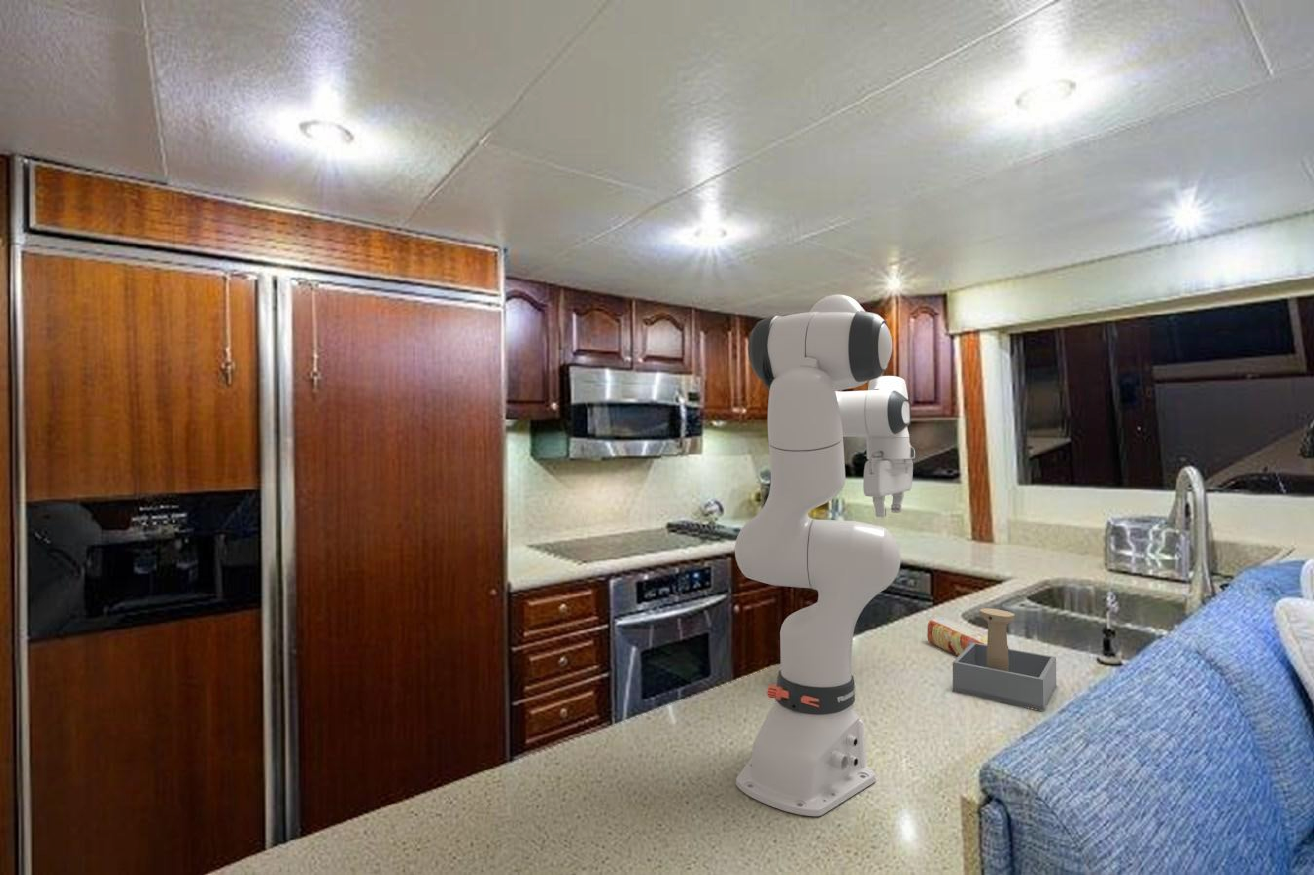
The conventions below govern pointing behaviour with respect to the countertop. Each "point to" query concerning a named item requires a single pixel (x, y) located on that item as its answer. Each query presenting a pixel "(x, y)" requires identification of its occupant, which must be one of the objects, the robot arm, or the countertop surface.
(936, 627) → the snack package
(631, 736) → the countertop surface
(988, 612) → the handle
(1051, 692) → the box
